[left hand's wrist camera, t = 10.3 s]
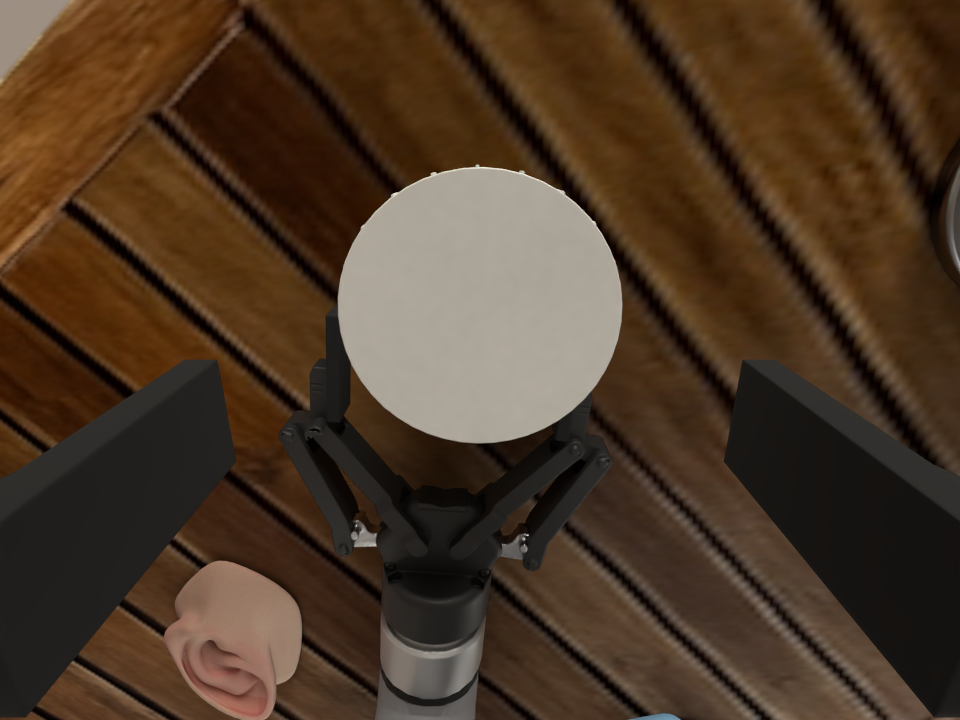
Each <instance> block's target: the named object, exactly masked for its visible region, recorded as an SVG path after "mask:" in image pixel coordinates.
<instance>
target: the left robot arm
mask: <svg viewBox="0 0 960 720" xmlns="http://www.w3.org/2000/svg"><path fill="white" fill-rule="evenodd" d="M931 222H932V236H933V243H934V247H935V250H936V253H937V256H938V258H939V261H940V263H941V265H942V266H943V268H944V270H945V271H946V273H947V274H948V275H949V277H950V278H951V279H952V280H953V281H954V282H955V283H956V284H957V285H958V286H960V139H959V140H958V142H957V144H956V145H955V147H954V148H953V150H952V152H951V154H950V156H949V158H948V160H947V162H946V164H945V166H944V168H943V171H942V173H941V176H940V179H939V181H938V184H937V188H936V192H935V196H934V201H933V207H932V219H931ZM235 462H236V458H235V453H234V448H233V442H232V437H231V431H230V426H229V420H228V415H227V409H226V404H225V399H224V393H223V388H222V382H221V377H220V371H219V366H218V360H184V361H182V362H181V363H179V364H178V365H176V366H175V367H173V368H172V369H170V370H169V371H167V372H166V373H164V374H163V375H161V376H160V377H158V378H157V379H155V380H154V381H152V382H151V383H149V384H148V385H146V386H145V387H143V388H142V389H140V390H139V391H137V392H136V393H134V394H133V395H131V396H130V397H128V398H127V399H125V400H124V401H122V402H121V403H119V404H118V405H116V406H115V407H113V408H111V409H110V410H108V411H107V412H105V413H104V414H102V415H101V416H99V417H98V418H96V419H95V420H93V421H92V422H90V423H89V424H87V425H86V426H84V427H83V428H81V429H80V430H78V431H77V432H75V433H74V434H72V435H71V436H69V437H68V438H66V439H65V440H63V441H62V442H60V443H59V444H57V445H56V446H54V447H53V448H51V449H50V450H48V451H47V452H45V453H44V454H42V455H41V456H39V457H37V458H36V459H34V460H33V461H31V462H30V463H28V464H27V465H25V466H24V467H22V468H21V469H19V470H18V471H16V472H14V473H12V474H10V475H7V476H5V477H3V478H1V479H0V717H27V715H28V714H29V713H30V712H31V711H32V709H33V708H34V707H35V706H36V704H37V703H38V702H39V701H40V700H41V698H42V697H43V696H44V695H45V694H46V692H47V691H48V690H49V689H50V687H51V686H52V685H53V684H54V683H55V681H56V680H57V679H58V678H59V676H60V675H61V674H62V673H63V672H64V670H65V669H66V668H67V667H68V666H69V664H70V663H71V662H72V661H73V659H74V658H75V657H76V656H77V655H78V653H79V652H80V651H81V650H82V648H83V647H84V646H85V645H86V644H87V642H88V641H89V640H90V639H91V638H92V636H93V635H94V634H95V633H96V631H97V630H98V629H99V628H100V627H101V625H102V624H103V623H104V622H105V620H106V619H107V618H108V617H109V616H110V614H111V613H112V612H113V611H114V610H115V608H116V607H117V606H118V605H119V603H120V602H121V601H122V600H123V599H124V597H125V596H126V595H127V594H128V592H129V591H130V590H131V589H132V588H133V586H134V585H135V584H136V583H137V582H138V580H139V579H140V578H141V577H142V575H143V574H144V573H145V572H146V571H147V569H148V568H149V567H150V566H151V564H152V563H153V562H154V561H155V560H156V558H157V557H158V556H159V555H160V554H161V552H162V551H163V550H164V549H165V547H166V546H167V545H168V544H169V543H170V541H171V540H172V539H173V538H174V536H175V535H176V534H177V533H178V532H179V530H180V529H181V528H182V527H183V526H184V524H185V523H186V522H187V521H188V519H189V518H190V517H191V516H192V515H193V513H194V512H195V511H196V510H197V508H198V507H199V506H200V505H201V504H202V502H203V501H204V500H205V499H206V498H207V496H208V495H209V494H210V493H211V491H212V490H213V489H214V488H215V487H216V485H217V484H218V483H219V482H220V480H221V479H222V478H223V477H224V476H225V474H226V473H227V472H228V471H229V469H230V468H231V467H232V466H233V465H234V463H235ZM724 462H725V463H726V465H727V466H728V467H729V468H730V469H731V471H732V472H733V473H734V474H735V476H736V477H737V478H738V479H739V480H740V482H741V483H742V484H743V485H744V487H745V488H746V489H747V490H748V491H749V493H750V494H751V495H752V496H753V498H754V499H755V500H756V501H757V502H758V504H759V505H760V506H761V507H762V508H763V510H764V511H765V512H766V513H767V515H768V516H769V517H770V518H771V519H772V521H773V522H774V523H775V524H776V526H777V527H778V528H779V529H780V530H781V532H782V533H783V534H784V535H785V536H786V538H787V539H788V540H789V541H790V543H791V544H792V545H793V546H794V547H795V549H796V550H797V551H798V552H799V554H800V555H801V556H802V557H803V558H804V560H805V561H806V562H807V563H808V564H809V566H810V567H811V568H812V569H813V571H814V572H815V573H816V574H817V575H818V577H819V578H820V579H821V580H822V582H823V583H824V584H825V585H826V586H827V588H828V589H829V590H830V591H831V592H832V594H833V595H834V596H835V597H836V599H837V600H838V601H839V602H840V603H841V605H842V606H843V607H844V608H845V610H846V611H847V612H848V613H849V614H850V616H851V617H852V618H853V619H854V620H855V622H856V623H857V624H858V625H859V627H860V628H861V629H862V630H863V631H864V633H865V634H866V635H867V636H868V638H869V639H870V640H871V641H872V642H873V644H874V645H875V646H876V647H877V648H878V650H879V651H880V652H881V653H882V655H883V656H884V657H885V658H886V659H887V661H888V662H889V663H890V664H891V666H892V667H893V668H894V669H895V670H896V672H897V673H898V674H899V675H900V676H901V678H902V679H903V680H904V681H905V683H906V684H907V685H908V686H909V687H910V689H911V690H912V691H913V692H914V694H915V695H916V696H917V697H918V698H919V700H920V701H921V702H922V703H923V704H924V706H925V707H926V708H927V709H928V711H929V712H930V713H931V714H932V715H933V717H960V476H958V475H956V474H954V473H951V472H949V471H947V470H944V469H942V468H940V467H938V466H935V465H933V464H932V463H930V462H929V461H927V460H926V459H924V458H923V457H921V456H919V455H918V454H916V453H915V452H913V451H912V450H910V449H909V448H907V447H906V446H904V445H903V444H901V443H900V442H898V441H897V440H895V439H894V438H892V437H891V436H889V435H888V434H886V433H885V432H883V431H882V430H880V429H879V428H877V427H876V426H874V425H873V424H871V423H870V422H868V421H867V420H865V419H864V418H862V417H861V416H859V415H858V414H856V413H855V412H853V411H852V410H850V409H849V408H847V407H845V406H844V405H842V404H841V403H839V402H838V401H836V400H835V399H833V398H832V397H830V396H829V395H827V394H826V393H824V392H823V391H821V390H820V389H818V388H817V387H815V386H814V385H812V384H811V383H809V382H808V381H806V380H805V379H803V378H802V377H800V376H799V375H797V374H796V373H794V372H793V371H791V370H790V369H788V368H787V367H785V366H784V365H782V364H781V363H779V362H778V361H776V360H742V366H741V371H740V377H739V382H738V388H737V393H736V399H735V404H734V409H733V415H732V420H731V426H730V431H729V437H728V442H727V448H726V453H725V458H724Z"/></svg>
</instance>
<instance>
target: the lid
mask: <svg viewBox="0 0 960 720" xmlns="http://www.w3.org/2000/svg"><path fill="white" fill-rule="evenodd" d="M564 194H565V192H564V191H561V190H557V189H555V188H553V187H552V186H550V185H548V184H546V183H544V182H543V181H540V180H538V179H535V178H533V177H530V176H527V175H525V174H524V172H523V171H519V173H517V172H513V171H509V170H505V169H498V168H487V167H479V165H476V168H462V169H456V170H451V171H446V172H442V173H439V174H436V172H434V173H431V176H430V177H427V178H424V179H422V180H420V181H418V182H416V183H414V184H412V185H410V186H408V187H406V188H404V189H403V190H402V191H400V192H399V193H398V192H397V193H394V194H392V195H391V196H392V197H391V198H390V199H389V200H388V201H387V202H386V203H384V204H383V205H382V206H381V207H380V208H379V209H378V210H377V211H376V212H375V213H374V214H373V215H372V216H371V218H370V219H369V220H368V221H367V223H366V224H365V225H363V226H362V227H361V231H360V232H359V234H358V236H357V237H356V239H355V241H354V242H353V244H352V246H351V249H350V251H349V253H348V256H347V258H346V260H345V264H344V266H343V271H342V275H341V278H340V285H339V293H338V318H339V325H340V332H341V336H342V340H343V343H344V347H345V350H346V353H347V355H348V357H349V360H350V362H351V364H352V366H353V368H354V370H355V372H356V373H357V375H358V377H359V378H360V380H361V382H362V383H363V384H364V385H365V387H366V388H367V389H368V391H369V392H370V393H371V394H372V396H373V397H374V398H375V399H376V400H377V401H378V402H379V403H380V404H381V405H382V406H383V407H384V408H386V409H387V410H388V411H390V412H391V413H392V414H393V415H395V416H396V417H397V418H399V419H400V420H402V421H404V422H405V423H407V424H409V425H410V426H412V427H414V428H416V429H419V430H421V431H423V432H425V433H427V434H430V435H434V436H437V437H440V438H443V439H448V440H453V441H458V442H467V443H495V442H501V441H508V440H513V439H516V438H520V437H524V436H527V435H530V434H532V433H535V432H537V431H539V430H542V429H544V428H546V427H548V426H549V425H551V424H553V423H555V422H557V421H558V420H560V419H561V418H562V417H564V416H565V415H567V414H568V413H569V412H571V411H572V410H573V409H574V408H575V407H576V406H577V405H579V404H580V403H581V402H582V401H583V400H584V399H585V398H586V397H587V395H588V394H589V393H590V392H591V391H592V389H593V388H594V387H595V386H596V384H597V383H598V381H599V380H600V378H601V377H602V375H603V373H604V372H605V370H606V368H607V366H608V364H609V362H610V360H611V358H612V355H613V352H614V349H615V346H616V343H617V340H618V336H619V331H620V325H621V318H622V294H621V284H620V280H619V275H618V271H617V266H616V264H615V260H614V259H613V256H612V253H611V251H610V248H609V246H608V245H607V243H606V241H605V239H604V237H603V236H602V234H601V232H600V231H599V229H598V228H597V227H596V223H595V222H594V221H592V220H591V219H590V217H589V216H588V215H587V214H586V213H585V212H584V211H583V210H582V209H581V208H580V207H579V206H578V205H577V204H576V203H575V202H573V201H572V200H571V199H570V198H568V197H567V196H566V195H564Z"/></svg>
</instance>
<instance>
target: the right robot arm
mask: <svg viewBox="0 0 960 720" xmlns="http://www.w3.org/2000/svg"><path fill="white" fill-rule="evenodd" d="M591 403H592V396H591V392H590V393H589V394H588V395H587V397H586V398H585V399H584V400H583V401H582V402H581V403H580V404H579V405H577V406H576V407H575V408H574V409H573V410H572V411H571V412H569V413H568V414H567V415H565V416H564V417H562V418H561V419H560V420H558V421H557V422H555V423H553V424H551V426H552V429H553V433H554V434H553V435H551V436H550V437H549V438H548V439H547V440H545V441H544V442H543V443H542V444H541V445H539V446H538V447H537V448H536V449H535V450H533V451H532V452H531V453H530V454H529V455H528V456H526V457H525V458H524V459H523V460H522V461H520V462H519V463H518V464H517V465H516V466H514V467H513V468H512V469H511V470H510V471H508V472H507V473H506V474H505V475H504V476H502V477H501V478H500V479H499V480H498V481H496V482H495V483H492V482H491V483H489V484H488V485H486V486H485V487H484V488H483V489H482V490H480V491H479V492H478V493H477V494H476V495H472V494H470V493H468V492H467V489H462V488H453V489H446V490H443V489H440V488H437V487H434V486H424V485H421V489H417V490H413V489H412V488H411V487H410V486H409V485H408V483H407V482H406V481H405V480H404V479H403V478H402V477H401V476H400V475H395V474H394V473H393V472H392V470H391V469H390V468H389V467H388V466H387V465H386V464H385V462H384V461H383V460H382V459H381V458H380V457H379V456H378V454H377V453H376V452H375V451H374V450H373V449H372V448H371V446H370V445H369V444H368V443H367V442H366V441H365V440H364V438H363V437H362V436H361V435H360V434H359V433H358V432H357V430H356V429H355V428H354V427H353V426H352V425H351V424H350V422H349V421H348V420H347V419H346V418H345V417H344V414H345V412H346V410H347V408H348V406H349V405H350V360H349V357H348V355H347V353H346V350H345V347H344V343H343V340H342V336H341V332H340V325H339V318H338V304H337V305H336V306H335V307H334V308H333V309H332V310H331V311H330V312H329V313H328V314H327V315H326V359H319V360H318V361H317V363H316V364H315V365H314V366H313V368H312V370H311V373H310V411H306V412H305V411H301V410H300V411H296V412H294V413H293V415H292V416H291V417H290V418H289V420H288V421H287V422H286V424H285V425H284V426H283V428H282V429H281V431H280V432H279V436H278V437H279V440H280V442H281V443H282V445H283V447H284V448H285V450H286V452H287V454H288V455H289V457H290V459H291V460H292V462H293V464H294V466H295V467H296V469H297V471H298V472H299V474H300V476H301V477H302V479H303V481H304V483H305V484H306V486H307V488H308V489H309V491H310V493H311V494H312V496H313V498H314V500H315V501H316V503H317V505H318V506H319V508H320V510H321V511H322V513H323V515H324V517H325V518H326V520H327V522H328V523H329V525H330V527H331V530H332V537H333V544H334V550H335V552H336V553H337V554H338V555H340V556H344V557H345V556H349V555H350V554H351V553H352V551H353V548H354V547H372V546H377V548H378V550H379V551H380V553H381V555H382V558H383V575H382V612H381V638H380V676H379V690H378V701H377V708H376V715H375V720H475V708H476V696H477V684H478V673H479V668H480V661H481V658H482V650H483V641H484V632H485V624H486V613H487V608H488V600H489V592H490V584H491V576H492V569H493V566H494V564H495V562H496V561H497V560H498V559H499V557H500V556H503V557H509V558H515V559H521V560H523V565H524V568H526V569H527V570H530V571H534V570H537V569H539V568H540V566H541V564H542V561H543V557H544V554H545V551H546V548H547V545H548V543H549V542H550V541H551V540H552V539H553V537H554V536H555V535H556V534H557V532H558V531H559V530H560V529H561V527H562V526H563V525H564V524H565V523H566V521H567V520H568V519H569V518H570V516H571V515H572V514H573V513H574V511H575V510H576V509H577V508H578V507H579V505H580V504H581V503H582V502H583V500H584V499H585V498H586V497H587V495H588V494H589V493H590V492H591V490H592V489H593V488H594V487H595V486H596V484H597V483H598V482H599V481H600V479H601V478H602V477H603V476H604V474H605V473H606V472H607V471H608V470H609V468H610V467H611V465H612V459H611V456H610V454H609V452H608V450H607V447H606V445H605V443H604V441H603V439H602V438H601V437H600V436H598V435H593V436H591V435H589V434H587V433H586V431H587V425H588V420H589V413H590V409H591V408H590V407H591ZM335 462H336V463H337V464H338V466H339V467H340V468H341V469H342V470H343V471H344V472H345V473H346V474H347V475H348V476H349V478H350V479H351V480H352V481H353V482H354V483H355V484H356V485H357V486H358V487H359V489H360V490H361V491H362V492H363V493H364V494H365V495H366V496H367V497H368V498H369V499H370V501H371V502H372V503H373V504H374V505H375V507H376V511H377V514H378V515H379V517H380V518H381V519H382V520H383V521H382V522H381V524H380V526H376V525H373V524H371V523H370V522H369V520H368V518H367V516H366V512H365V511H363V510H360V511H359V510H358V505H357V502H356V499H355V497H354V495H353V493H352V492H351V490H350V488H349V486H348V484H347V483H346V481H345V479H344V477H343V475H342V474H341V472H340V470H339V468H338V466H337V465H336V463H335ZM557 476H558V477H557ZM556 477H557V478H556ZM555 478H556V480H555V481H554V482H553V483H552V485H551V486H550V487H549V489H548V490H547V491H546V492H545V494H544V495H543V496H542V498H541V499H540V500H539V501H538V503H537V504H536V505H535V507H534V508H533V509H532V511H531V512H530V514H529V515H528V517H527V519H526V522H525V524H524V523H519V524H518V525H517V528H515V530H514V531H513V533H511V534H510V535H507V536H502V533H501V531H500V529H499V528H501V527H502V526H503V525H504V524H505V522H506V520H507V518H508V516H509V515H510V514H511V513H513V512H514V511H515V510H516V509H518V508H519V507H520V506H521V505H523V504H524V503H525V502H526V501H528V500H529V499H530V498H531V497H533V496H534V495H535V494H536V493H538V492H539V491H540V490H541V489H543V488H544V487H545V486H546V485H547V484H549V483H550V482H551V481H552V480H554V479H555ZM629 720H685V719H679V718H678V717H676V716H674V715H672V714H666V713H662V714H656V715H650V716H645V717H640V718H634V719H629Z"/></svg>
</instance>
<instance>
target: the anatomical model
mask: <svg viewBox="0 0 960 720" xmlns="http://www.w3.org/2000/svg"><path fill="white" fill-rule="evenodd" d="M175 610H176V613H177V616H178V618H179V620H178V621H176V622H175V623H173V624H172V625H171V626H170V627H169V628H168V629H167V630H166V632H165V635H164V641H165V643H166V646H167V648H168V649H169V651H170V653H171V655H172V657H173V659H174V661H175V663H176V665H177V667H178V668H179V670H180V672H181V674H182V676H183V677H184V679H185V680H186V682H187V683H188V685H189V686H190V687H191V688H192V690H193V691H194V692H196V693H197V694H198V695H199V696H200V697H201V698H202V699H204V700H205V701H206V702H208V703H209V704H211V705H212V706H214V707H215V708H217V709H218V710H220V711H222V712H224V713H226V714H228V715H230V716H233V717H235V718H238V719H241V720H264V719H266V718H267V717H268V716H269V715H270V714H271V712H272V710H273V708H274V704H275V700H276V685H277V684H280V683H283V682H285V681H287V680H288V679H289V678H290V677H291V676H292V675H293V674H294V672H295V670H296V667H297V664H298V661H299V656H300V650H301V640H302V621H301V614H300V610H299V608H298V605H297V604H296V602H295V600H294V599H293V598H292V597H291V595H290V594H288V593H287V592H286V591H285V590H284V589H283V588H281V587H280V586H279V585H277V584H276V583H274V582H273V581H271V580H269V579H268V578H266V577H264V576H262V575H260V574H258V573H256V572H254V571H252V570H250V569H248V568H246V567H243V566H241V565H238V564H235V563H232V562H227V561H216V562H212V563H210V564H208V565H207V566H205V567H204V568H202V569H201V570H200V571H199V572H198V573H197V574H196V575H194V576H193V577H192V578H191V579H190V580H189V581H188V582H187V583H186V584H185V586H184V587H183V589H182V590H181V591H180V593H179V594H178V596H177V598H176V600H175Z"/></svg>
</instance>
